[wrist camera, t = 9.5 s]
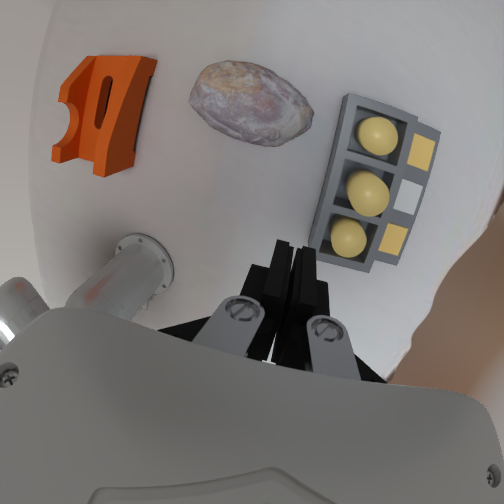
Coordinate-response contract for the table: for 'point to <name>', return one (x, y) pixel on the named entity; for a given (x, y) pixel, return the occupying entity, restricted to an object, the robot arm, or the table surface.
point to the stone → (250, 103)
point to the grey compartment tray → (350, 159)
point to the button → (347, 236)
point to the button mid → (366, 192)
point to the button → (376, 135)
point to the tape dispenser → (93, 107)
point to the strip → (409, 194)
